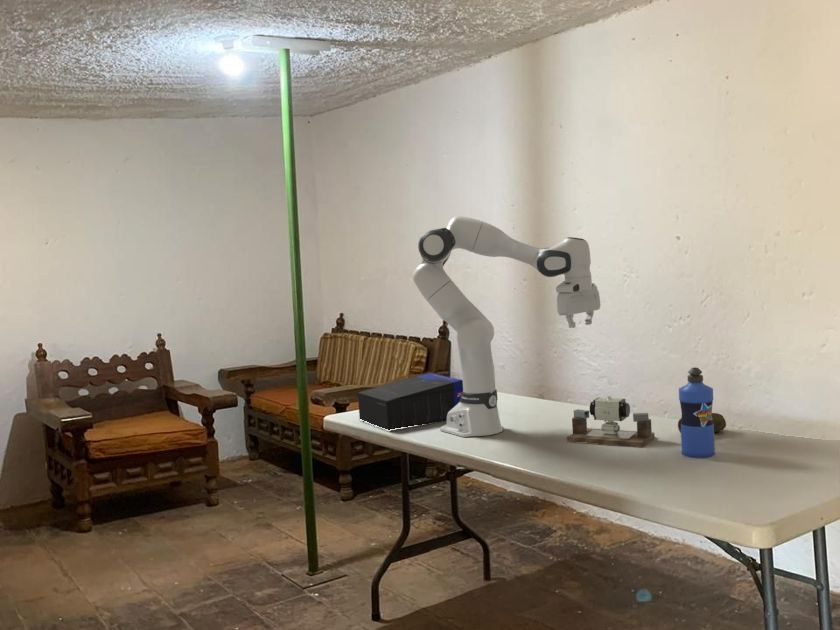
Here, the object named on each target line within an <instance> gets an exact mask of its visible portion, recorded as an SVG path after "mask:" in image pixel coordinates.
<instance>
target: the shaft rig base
mask: <svg viewBox="0 0 840 630" xmlns="http://www.w3.org/2000/svg"><path fill="white" fill-rule="evenodd" d="M587 419H588V418H586V419H582V418H576V417H574V416H573V417H572V419H571V423H572V433H571V434H570V435H568V436H567V437H566V441H567V443H576V442H587V443H586V444H589V443H598V444H597V445H603V444H606V445H605V446H616V445H618V447H630V446H632V447H633V448H644V447H645V446H647V444H649V443H650V442H651V441H652V440H653V439H655V437H656V436H655V432H652V430H653V429H652V419H649V421H647V422H636V431H635V430H621V429H620V431H622V432H636V434H635V435H634V436H632V437H631V438H630V439H615V438H601V437H586V436H585V435H586V434H588V433H589V432H591V431H592V430H602V429H601V428H592V427H590V428H588V424H587Z"/></svg>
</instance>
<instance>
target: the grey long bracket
mask: <svg viewBox="0 0 840 630" xmlns="http://www.w3.org/2000/svg"><path fill="white" fill-rule="evenodd" d="M574 417H576V418H582V419H590V410H585V409H579V408H578V409H574V410H573V418H574ZM632 421H633V422H635V423H637V422H647V421H649V412H633V413H632ZM603 432H604V431H602V430H592V431H591V432H589V433H588V434H586V435H585V436H586V437H601V438H615V439H630V438H631V437H632V436H634V435H635V434H636V432H622V431H619V432H617V433H616V434H615V435H609V434H604V433H603Z"/></svg>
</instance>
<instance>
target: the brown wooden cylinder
mask: <svg viewBox="0 0 840 630" xmlns="http://www.w3.org/2000/svg"><path fill="white" fill-rule="evenodd" d="M712 419H713V424H714V434H715V433H718V432H721V431H724V429H726V426H727V421H726V419H725V417H724V415H722V414H720V413H717V412H712ZM677 429H678V432H679V433H680V434H681V418H679V420H678V422H677Z"/></svg>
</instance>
